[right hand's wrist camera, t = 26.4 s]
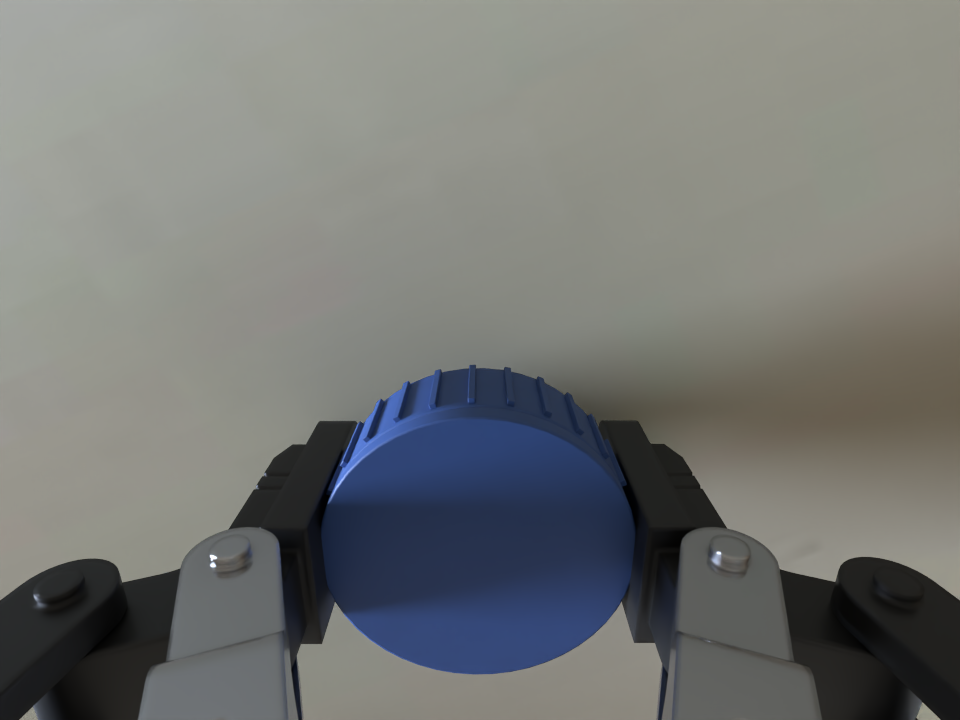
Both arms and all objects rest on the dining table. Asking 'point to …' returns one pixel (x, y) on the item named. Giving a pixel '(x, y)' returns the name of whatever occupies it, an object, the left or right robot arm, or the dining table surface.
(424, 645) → the lid
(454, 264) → the dining table surface
